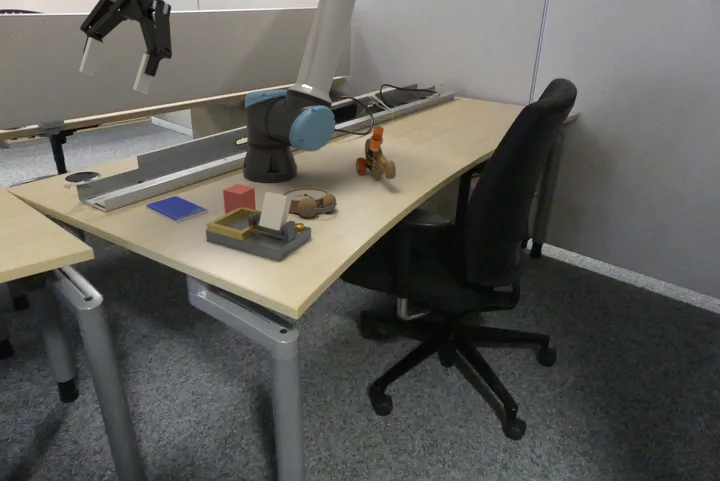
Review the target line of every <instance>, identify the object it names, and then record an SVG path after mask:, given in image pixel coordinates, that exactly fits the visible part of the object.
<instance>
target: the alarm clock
mask: <svg viewBox="0 0 720 481" xmlns="http://www.w3.org/2000/svg"><path fill="white" fill-rule="evenodd" d="M281 195H284V196H288V197H292V200H291V204H290V209H289V213H293V214H299V215H300V216H301V217H304V218H311V217H313V216H315V215H316V214H318V213H332V212H333V211H334V210H335V209H336V206H337V205H338V203H337V199H336V197H335V195H334V194H333V193H330V192H329V191H328V190H326V189H324V188H319V187H312V186H311V187H308V186H307V187H297V188H292V189H288V190H286V191H284V192H283V194H281Z"/></svg>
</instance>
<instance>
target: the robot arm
mask: <svg viewBox="0 0 720 481" xmlns="http://www.w3.org/2000/svg"><path fill="white" fill-rule="evenodd" d="M356 2H357V0H318V4H317V7H316V11H315V15H314V17H313V21H312V24H311V28H310V32H309V35H308V39H307V42H306V47H305V49H304V52H303V56H302V60H301V64H300V67H299V71H298V74H297V79H296V81H295V84H293V85H292V86H291V85H290V87H288V88H287V89H267V90H257V91H256V90H255V91H251V92H250V91H249V92H248V93H247V94H246V95H245V97H244V98H245V99H244V112H245V124H246V136H247V137H246V139H247V150H246V153H245V158H244V161H243V165H242V175H243V177H244V178H245V179H247V180H248V181H249V180H250V181H253V182H260V183H278V182H279V183H280V182H285V181H289V180H291V179H294V178H296V176H297V175H298V165H297V162H296V160H295V159H296V158H295V157H294V153H293V151H292V148H294V149H296V150H300V151H306V152H315V151H319V150H320V149H322V148H323V147H325V146H327V144H328V143H329V142H330V140H331V139H332V137H333V135H334V133H335V129H336V120H335V114H334V113H333V111H332V110H331V109H332V105H333V102H332V99H331V98H330V95H329V94H330V91H331V87H332V84H333V79H334V77H335V73H336V70H337V67H338V63H339V60H340V56H341V53H342V49H343V46H344V43H345V40H346V36H347V32H348V29H349V25H350V23H351V22H350V21H351V20H352V19H351V18H352V15H353V12H354V9H355V4H356ZM171 10H172V5H171V4H169V3H168V2H166V1H165V0H98V2H97V3H96V5H95V6H94V7H93V9H92V10H91V11H90V13H89V14H87V17H86V18H85V19H84V21H83V22H82V24H81V25H80V31H81V32H83V33H84V34H86V40H85V43H84V48H83V51H82V52H83V57H82V60H81V63H80V66H79V69H78V72H80V73H83V74H86V75H88V76H91V77H93V78H94V77H95V74H96V71H97V68H98V67H97V66H98V65H99V60H100V57H101V54H102V50H103V47H104V40H103V39H104V38H105V37H106V36H107V35H108V34H109V33H111V32H112V31H113V30H114V29H115V28H117V26H119V25H120V24H121V23H122V22H125V21H126V22H127V21H128V20H129V21H131V22H132V21H136V22H138V23H139V26H140V29H141V34H142V37H143V40H144V43H145V47H146V51H145V53H143V55H142V58H141V61H140V64H139V67H138V72H137V74H136V76H135V80H134V84H133V87H132V90H133V91H137V92H139V93H142V95H147V96H148V93H149V90H150V87H151V83H152V81H153V78H155V76H156V75H157V71H158V69H159V64H160V62H161V61H162V60H163V59H168V60H169V59H170V60H171V58H172V57H173V52H172V51H173V50H172V37H171V25H170V16H171V15H170V14H171ZM291 147H292V148H291Z"/></svg>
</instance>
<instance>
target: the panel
mask: <svg viewBox="0 0 720 481" xmlns="http://www.w3.org/2000/svg"><path fill="white" fill-rule="evenodd" d="M261 213H262V210H257V209H256V210H254V209H249V208H245V207H239V208H237V209H235V210H233V211H231V212H229V213H227V214H225V213H224V214H223V215H221V216H219V217H217V218H216V219H214V220H212V221H209V222H208V223H206V229H205V238H206V242H209V243H213V244H216V245H220V246H223V247H227V248H230V249H234V250H237V251H240V252H243V253H247V254H250V255H255V256H258V257H261V258H264V259H268V260H272V261H276V262H280V261H282V260H284V258H286V257H288V256H289V255H291V254H292V253H293V252H294V251H296V250H298V249H299V248H300V247H301V246H303V245H305V244H306V243H307V242H309V241H310V240H312V227H309V226H306V225H304V223H302V222H298V223H297V222H296V221H293V220H289V221H287V223H286V224H284V236H280V235H276V234H272V233H269V232H265V231H261V230H258V229H257V223H258V221H260V217H261ZM295 222H296V223H295Z"/></svg>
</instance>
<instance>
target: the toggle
mask: <svg viewBox="0 0 720 481" xmlns="http://www.w3.org/2000/svg"><path fill="white" fill-rule="evenodd" d="M291 200H292V197H288V196H284V195H282V194H279V193H275V192H271V191H265V195H264V199H263V203H262V209H261V211H262V213H261V217H260V221H258V223H257V229H258V230H261V231H265V232H269V233H272V234H276V235H280V236H284V224H286V223H287V222H288V218H289V213H290V212H289V209H290V204H291Z"/></svg>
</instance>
